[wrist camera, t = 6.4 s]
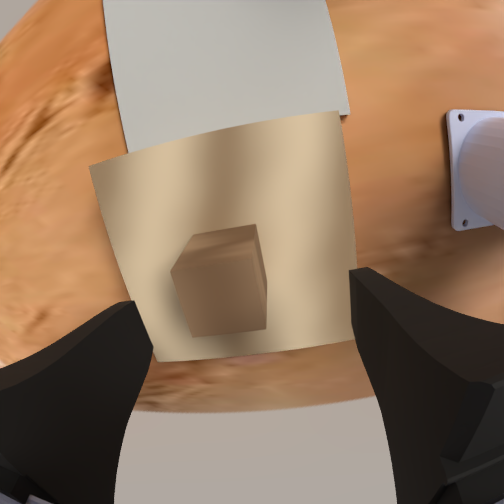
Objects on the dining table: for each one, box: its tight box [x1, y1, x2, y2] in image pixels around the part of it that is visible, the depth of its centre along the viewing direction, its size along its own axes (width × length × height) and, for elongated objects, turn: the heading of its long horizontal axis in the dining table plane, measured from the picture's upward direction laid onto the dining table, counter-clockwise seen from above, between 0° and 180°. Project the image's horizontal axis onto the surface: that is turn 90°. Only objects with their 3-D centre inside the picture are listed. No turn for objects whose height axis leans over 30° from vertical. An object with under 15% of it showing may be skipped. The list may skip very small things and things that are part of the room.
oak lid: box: [89, 110, 357, 362], centre depth 14 cm, size 12×12×5 cm
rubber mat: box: [103, 0, 350, 153], centre depth 15 cm, size 13×13×1 cm
